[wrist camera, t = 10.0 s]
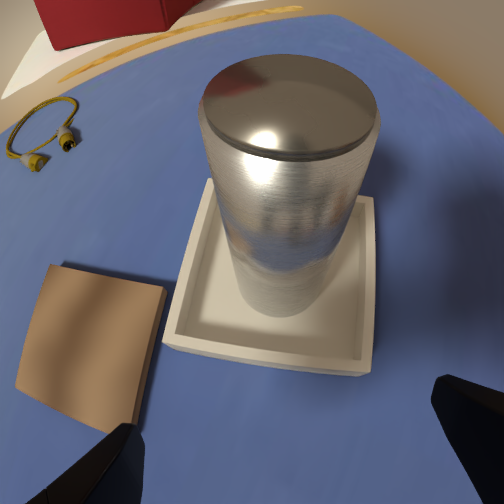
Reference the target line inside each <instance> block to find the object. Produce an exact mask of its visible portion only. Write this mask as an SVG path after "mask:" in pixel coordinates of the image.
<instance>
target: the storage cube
mask: <svg viewBox="0 0 504 504" xmlns="http://www.w3.org/2000/svg"><path fill="white" fill-rule="evenodd" d="M201 1H202V0H34V2H35V5H36V7H37V10H38V13H39V15H40V18H41V20H42V22H43V25H44V27H45V30H46V32H47V34H48V37H49V39H50V42H51V44H52V46H53V48H54V50H55V51H59V50H62V49H65V48H69V47H73V46H77V45H81V44H86V43H90V42H95V41H100V40H106V39H112V38H118V37H125V36H132V35H140V34H150V33H158V32H165V31H167V30H169V29H170V28H171V26H172V25H173V24H174V23H175V22H176V21H177V20H178V19H179V18H181V17H182V16H183V15H184V14H185V13H187V12H188V11H189V10H191V8H193V7H194V6H196V5H197V4H198V3H200V2H201Z"/></svg>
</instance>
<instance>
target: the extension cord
mask: <svg viewBox="0 0 504 504" xmlns="http://www.w3.org/2000/svg"><path fill="white" fill-rule="evenodd" d="M52 100H53V101H52ZM61 100H65V101H69V102H71V103H72V104H74V105H75V108H74V110H73V112H72V113H71V115H70V116H69V117H68V119H67V120H66V121H65V122H64V124H63V125H62V126H61V127H59V129H58V130H56V132H57V133H56V134H55V135H54V136H53V137H52V138H51V139H50V140H48V141H47V142H45V143H44V144H42V145H40V146H39V147H37V148H35V149H33V150H31V151H29V152H27V153H25V154H22V155H17V154H14V153H12V152H10V151H9V146H10V144H11V142H12V140H13V138H14V136H15V135H16V133H17V132H18V130H19V129H20V127H21V126H22V125H23V123H24V122H25V121H26V120H27V119H28V118H29V117H30V116H31V115H32V114H34V113H35V112H36V111H38V110H39V109H41V108H43V107H45V106H47V105H49V104H51V103H54V102H57V101H61ZM49 101H51V102H49ZM47 102H49V103H47ZM45 103H46V104H45ZM43 104H45V105H43ZM41 105H43V106H41ZM39 106H41V107H39ZM38 107H39V108H38ZM36 108H38V109H36ZM35 109H36V110H35ZM76 109H77V103H76V102H75V100H73V99H72V98H69V97H55V98H52V99H49V100H46V101H44V102H42V103H41V104H39V105H37V106H36V107H35V108H33V109H32V110H31V111H29V112H28V113H27V114H26V115H25V116H24V117H23V118H22V119H21V120H20V121H19V122H18V124H17V125H16V126H15V128H14V129H13V131H12V133H11V134H10V136H9V139H8V141H7V144H6V154H7V156H8V157H9V158H11V159H16V158H20V160H21V161H20V162H21V163H23V164H24V165H25V166H26V167H27V168H29V169H31V171H32V172H33V171H37V172H39V171H40V170H41V168H42V167H43V166H44V165H45V163H46V162H47V161H48V158H45V157H43V156H40V155H37V154H34V153H32V152H34V151H36V150H38V149H40V148H41V147H43V146H45V145H46V144H48V143H49V142H51V141H52V140H53V139H54V138H55V137H56V136H57V135H58V141H59V144H60V146H62V149H63V150H64V151H65V152H69V151H68V149H67V145H68V144H70V145H71V147H74V148H75V147H76V145H75V141H74V136H73V134H72V132H71V131H70V130H69V129H68V128H67V127H68V126H69V125H70V124H71V123H72V122H73V120H74V118H73V119H72V120H71V121H70V122H69V123H68V121H69V120H70V119H71V117H72V116H73V115H74V113H75V112H76ZM34 110H35V111H34ZM32 111H33V112H32ZM31 112H32V113H31ZM30 113H31V114H30ZM29 114H30V115H29ZM28 115H29V116H28ZM27 116H28V117H27ZM26 117H27V118H26ZM25 118H26V119H25ZM24 119H25V120H24ZM23 120H24V121H23ZM22 121H23V122H22ZM21 122H22V123H21ZM20 123H21V124H20ZM67 123H68V124H67ZM19 124H20V126H19ZM66 124H67V125H66ZM18 126H19V127H18ZM17 127H18V128H17ZM16 128H17V130H16ZM15 130H16V132H15V133H14V131H15ZM13 133H14V135H13ZM12 135H13V137H12ZM11 137H12V138H11ZM10 139H11V140H10ZM9 154H10V155H12V156H10V155H9Z"/></svg>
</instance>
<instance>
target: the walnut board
mask: <svg viewBox="0 0 504 504" xmlns="http://www.w3.org/2000/svg"><path fill="white" fill-rule="evenodd" d="M167 293H168V292H167V291H166V290H165V289H164V287H161V286H156V285H150V284H145V283H139V282H134V281H129V280H124V279H119V278H113V277H108V276H104V275H99V274H94V273H89V272H84V271H80V270H75V269H70V268H66V267H61V266H57V265H52V264H50V266H49V268H48V271H47V274H46V276H45V279H44V282H43V285H42V287H41V290H40V293H39V296H38V299H37V302H36V305H35V309H34V312H33V315H32V318H31V322H30V325H29V329H28V332H27V336H26V340H25V344H24V348H23V352H22V356H21V360H20V365H19V369H18V374H17V379H16V384H15V388H17V389H19V390H20V391H22V392H24V393H25V394H27V395H29V396H31V397H32V398H34V399H36V400H38V401H40V402H42V403H43V404H45V405H47V406H49V407H51V408H53V409H55V410H57V411H59V412H61V413H63V414H65V415H67V416H69V417H71V418H73V419H75V420H78V421H80V422H82V423H84V424H87V425H89V426H91V427H93V428H96V429H98V430H101V431H103V432H106V433H108V434H109V433H110V432H112V431H113V430H114V429H115V428H116V427H117V426H118V425H120V424H121V423H135V424H136V425H137V423H138V417H139V412H140V407H141V402H142V397H143V393H144V388H145V383H146V379H147V374H148V370H149V365H150V361H151V356H152V352H153V348H154V344H155V340H156V336H157V331H158V327H159V323H160V320H161V316H162V312H163V308H164V304H165V300H166V297H167Z"/></svg>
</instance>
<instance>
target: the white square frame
mask: <svg viewBox="0 0 504 504" xmlns="http://www.w3.org/2000/svg"><path fill="white" fill-rule="evenodd" d="M374 314H375V222H374V202H373V197H367V196H360V195H358V196H357V199H356V201H355V204H354V207H353V210H352V212H351V215H350V218H349V220H348V223H347V225H346V228H345V231H344V233H343V236H342V238H341V241H340V243H339V246H338V248H337V251H336V253H335V256H334V258H333V261H332V263H331V266H330V268H329V271H328V273H327V275H326V278H325V280H324V282H323V285H322V287H321V289H320V292H319V294H318V296H317V298H316V299H315V301H314V302H313V303H312V304H311V305H310V306H309V307H308V308H307V309H306V310H304V311H303V312H301V313H299V314H297V315H294V316H290V317H285V318H276V317H270V316H266V315H263V314H261V313H259V312H257V311H255V310H254V309H253V308H251V307H250V306H249V305H248V304H247V303H246V301H245V300H244V299H243V297H242V295H241V293H240V291H239V287H238V283H237V279H236V275H235V271H234V267H233V263H232V259H231V255H230V251H229V247H228V243H227V239H226V235H225V230H224V226H223V222H222V218H221V214H220V210H219V205H218V201H217V197H216V193H215V189H214V184H213V180H212V178H208V180H207V183H206V186H205V189H204V193H203V196H202V199H201V202H200V205H199V208H198V212H197V215H196V218H195V221H194V225H193V228H192V231H191V235H190V238H189V242H188V245H187V249H186V252H185V256H184V259H183V263H182V266H181V270H180V273H179V277H178V281H177V284H176V288H175V292H174V296H173V300H172V303H171V307H170V311H169V315H168V319H167V323H166V327H165V331H164V335H163V340H162V342H163V343H164V344H166V345H168V346H169V347H171V348H173V349H174V350H178V351H183V352H187V353H192V354H197V355H202V356H207V357H212V358H217V359H223V360H228V361H234V362H240V363H246V364H252V365H258V366H265V367H272V368H279V369H287V370H295V371H303V372H312V373H322V374H333V375H345V376H361V375H364V374H367V373H370V372H371V362H372V349H373V334H374Z"/></svg>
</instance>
